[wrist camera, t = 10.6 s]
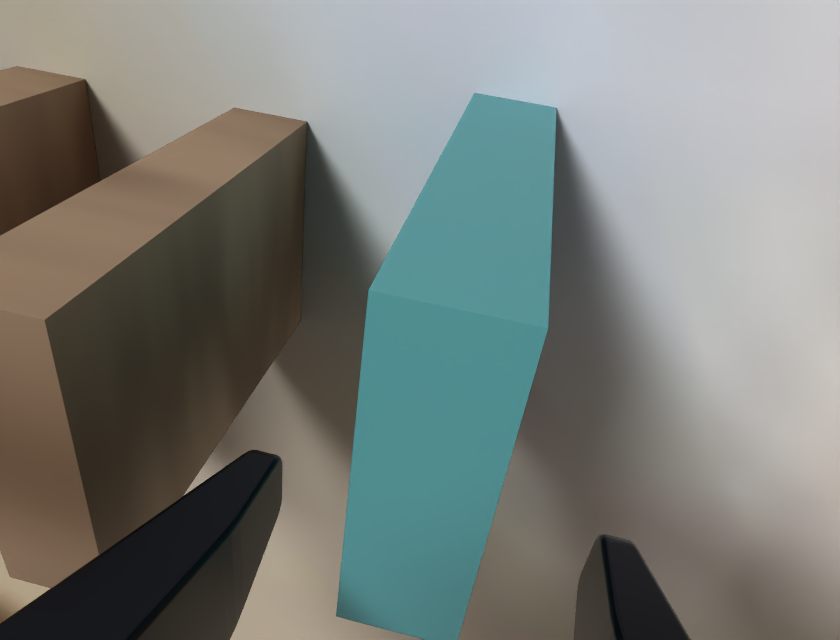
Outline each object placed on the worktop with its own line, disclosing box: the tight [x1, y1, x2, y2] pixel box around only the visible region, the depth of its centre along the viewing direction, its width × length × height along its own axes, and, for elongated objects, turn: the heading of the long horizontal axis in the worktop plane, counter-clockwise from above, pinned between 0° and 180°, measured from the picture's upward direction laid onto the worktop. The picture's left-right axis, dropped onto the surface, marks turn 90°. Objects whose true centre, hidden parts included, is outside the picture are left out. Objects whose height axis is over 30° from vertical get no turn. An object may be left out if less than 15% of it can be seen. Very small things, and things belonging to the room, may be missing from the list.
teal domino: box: [336, 93, 557, 640], centre depth 10 cm, size 5×2×8 cm, turn 172°
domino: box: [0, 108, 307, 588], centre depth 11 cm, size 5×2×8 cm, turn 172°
